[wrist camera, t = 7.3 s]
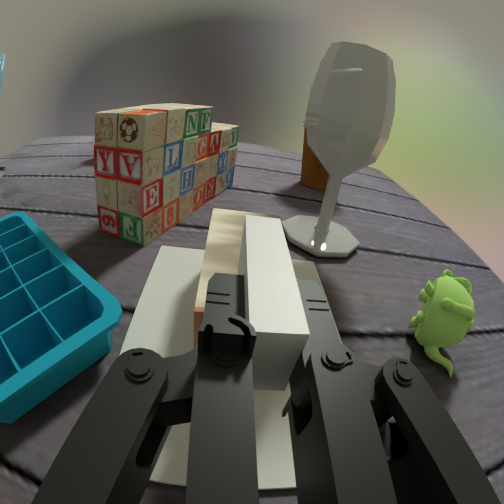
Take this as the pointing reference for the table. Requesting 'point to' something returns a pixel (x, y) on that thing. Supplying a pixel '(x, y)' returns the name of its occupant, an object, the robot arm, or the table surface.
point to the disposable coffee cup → (312, 168)
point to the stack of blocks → (158, 166)
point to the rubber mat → (182, 341)
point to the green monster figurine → (443, 316)
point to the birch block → (220, 253)
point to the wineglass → (344, 135)
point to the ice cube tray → (45, 317)
